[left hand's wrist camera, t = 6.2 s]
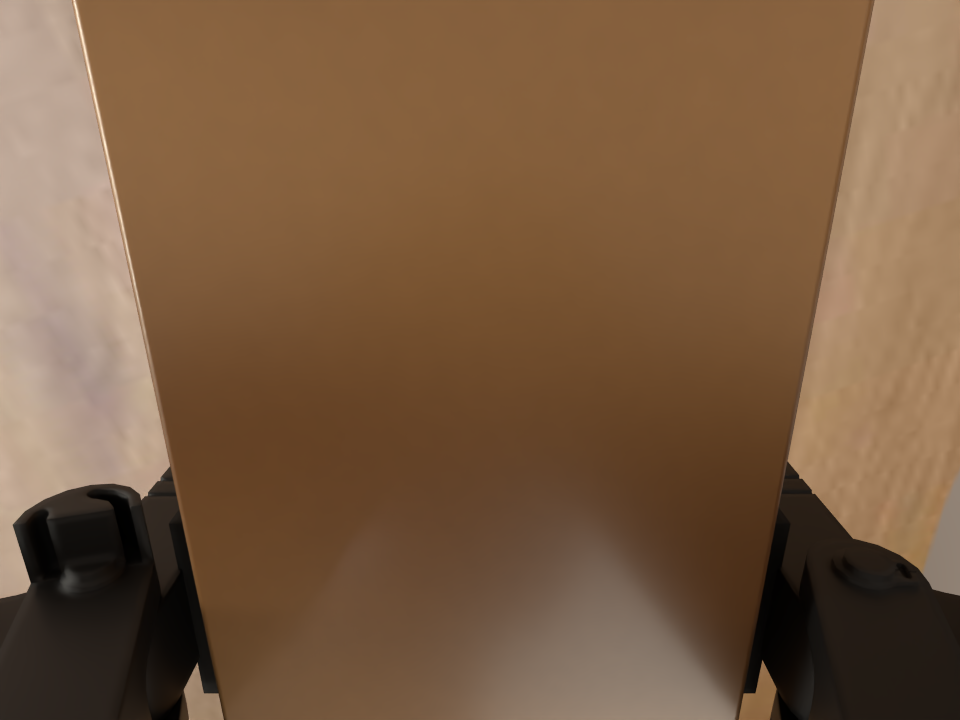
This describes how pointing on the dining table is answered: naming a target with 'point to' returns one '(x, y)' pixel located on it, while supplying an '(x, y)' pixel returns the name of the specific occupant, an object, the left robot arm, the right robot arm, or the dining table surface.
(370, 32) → the beam
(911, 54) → the dining table surface
